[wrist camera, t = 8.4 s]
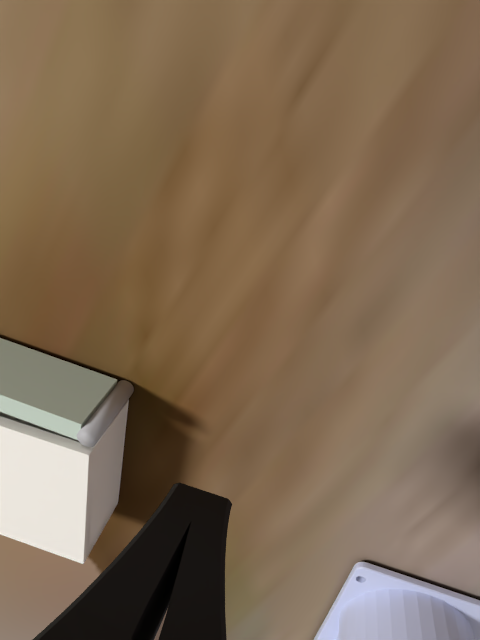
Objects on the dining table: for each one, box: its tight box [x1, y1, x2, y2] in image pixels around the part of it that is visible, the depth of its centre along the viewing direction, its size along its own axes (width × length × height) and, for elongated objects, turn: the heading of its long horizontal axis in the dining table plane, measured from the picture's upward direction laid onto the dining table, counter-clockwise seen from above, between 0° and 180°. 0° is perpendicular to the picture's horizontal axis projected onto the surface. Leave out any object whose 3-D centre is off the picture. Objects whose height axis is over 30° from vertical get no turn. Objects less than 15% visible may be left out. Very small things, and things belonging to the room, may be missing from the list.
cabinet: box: [0, 400, 129, 564], centre depth 24 cm, size 8×11×4 cm
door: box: [0, 338, 134, 447], centre depth 21 cm, size 1×11×4 cm, turn 76°
